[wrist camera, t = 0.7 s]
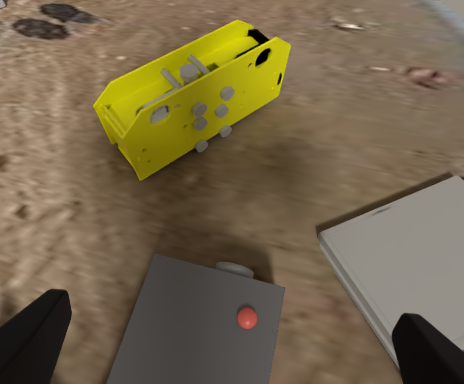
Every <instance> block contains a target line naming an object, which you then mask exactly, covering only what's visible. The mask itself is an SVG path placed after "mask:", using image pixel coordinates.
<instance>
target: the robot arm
mask: <svg viewBox="0 0 464 384" xmlns="http://www.w3.org/2000/svg"><path fill="white" fill-rule="evenodd" d="M71 315H72V310H71V305H70V300H69V295H68V292H67V291H66V290H62V289H50V290H48V291H46V292H45V293H44V294H42V295H41V296H40V297H38V298H37V299H36V300H35V301H33V302H32V303H31V304H29V305H28V306H27V307H25V308H24V309H23V310H22V311H20V312H19V313H18V314H16V315H15V316H14V317H13V318H11V319H10V320H9V321H7V322H6V323H5V324H3V325H2V326H1V327H0V384H49V383H50V380H51V377H52V375H53V372H54V369H55V366H56V363H57V360H58V357H59V354H60V351H61V348H62V345H63V342H64V339H65V335H66V332H67V329H68V326H69V323H70V320H71ZM392 342H393V346H394V350H395V354H396V358H397V361H398V365H399V369H400V373H401V376H402V380H403V384H464V351H462V350H461V349H460V348H459V347H458V346H456V345H455V344H454V343H453V342H452V341H451V340H449V339H448V338H447V337H446V336H445V335H443V334H442V333H441V332H440V331H439V330H438V329H436V328H435V327H434V326H433V325H432V324H431V323H429V322H428V321H427V320H426V319H425V318H423V317H422V316H421V315H419V314H416V313H403V314H402V315H401V316H400V318H399V320H398V321H397V323H396V325H395V327H394V329H393V331H392Z"/></svg>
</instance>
